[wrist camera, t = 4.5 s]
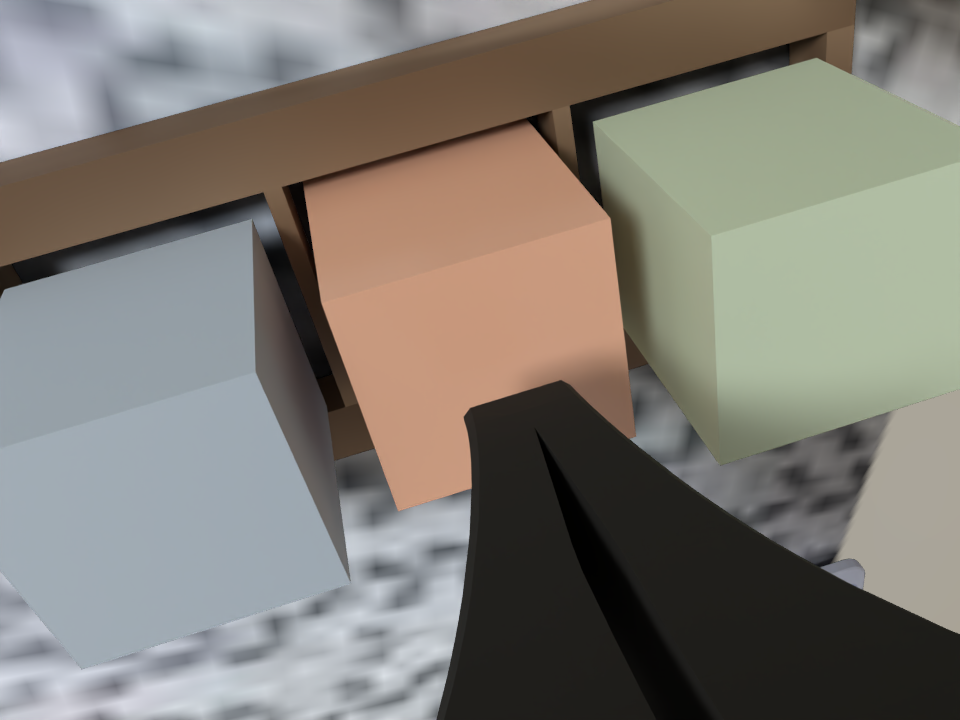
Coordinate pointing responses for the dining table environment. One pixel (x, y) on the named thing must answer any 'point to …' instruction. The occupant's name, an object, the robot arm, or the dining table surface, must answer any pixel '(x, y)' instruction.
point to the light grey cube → (162, 448)
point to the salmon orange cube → (465, 294)
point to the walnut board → (387, 129)
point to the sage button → (787, 252)
